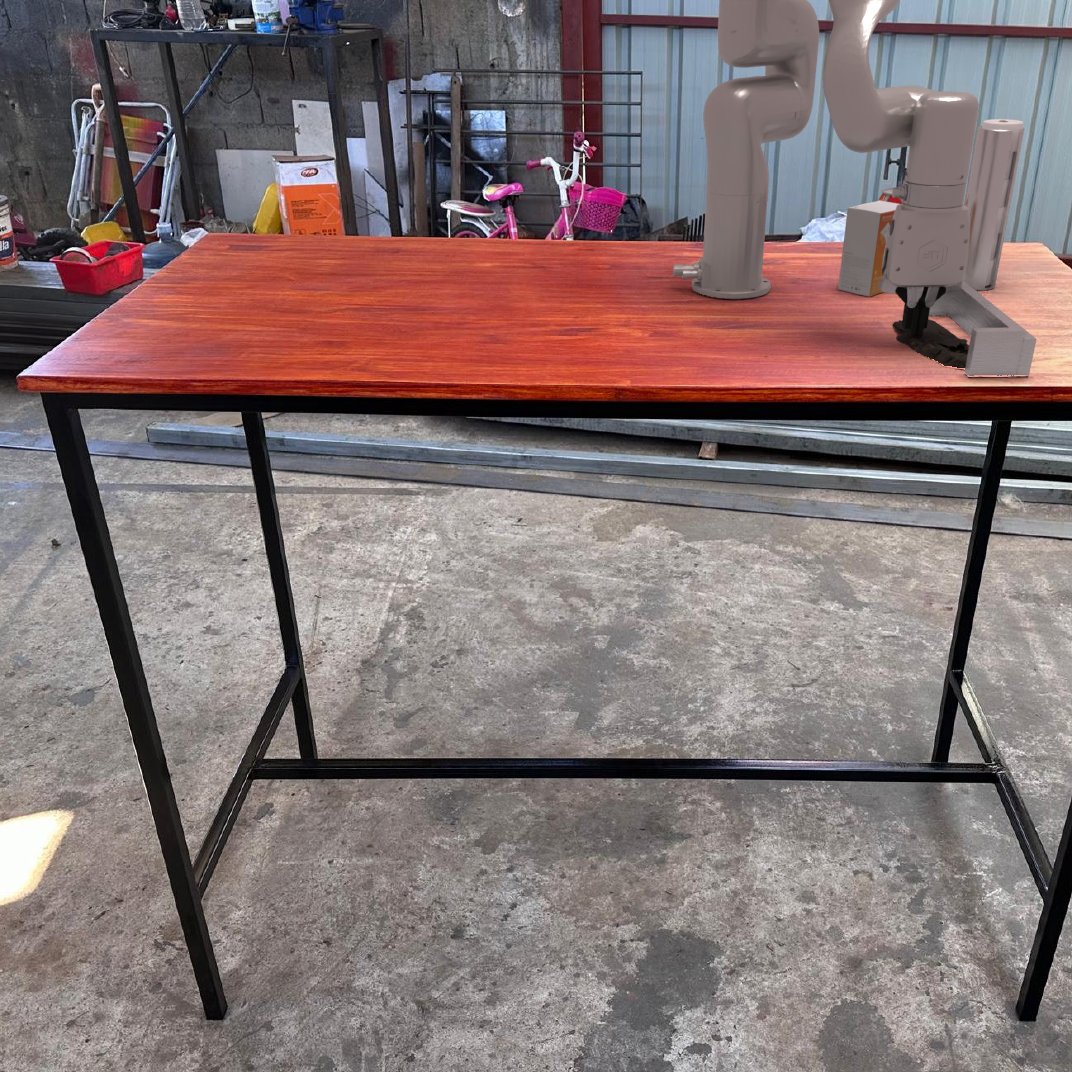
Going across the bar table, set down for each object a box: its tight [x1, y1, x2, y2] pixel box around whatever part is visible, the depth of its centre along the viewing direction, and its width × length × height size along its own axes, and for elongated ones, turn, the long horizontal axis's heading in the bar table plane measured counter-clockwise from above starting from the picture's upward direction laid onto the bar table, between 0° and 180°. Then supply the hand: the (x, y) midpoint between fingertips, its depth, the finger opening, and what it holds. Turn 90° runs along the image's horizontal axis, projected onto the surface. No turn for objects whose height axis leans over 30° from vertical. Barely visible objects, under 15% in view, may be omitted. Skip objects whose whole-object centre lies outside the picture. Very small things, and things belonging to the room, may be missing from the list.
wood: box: [892, 318, 969, 368], centre depth 144 cm, size 22×7×3 cm, turn 6°
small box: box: [837, 200, 900, 297], centre depth 167 cm, size 8×6×13 cm
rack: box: [917, 281, 1037, 376], centre depth 144 cm, size 8×28×6 cm, turn 179°
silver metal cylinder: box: [964, 118, 1025, 292], centre depth 164 cm, size 6×6×25 cm
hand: (913, 333), depth 145 cm, fingers closed
